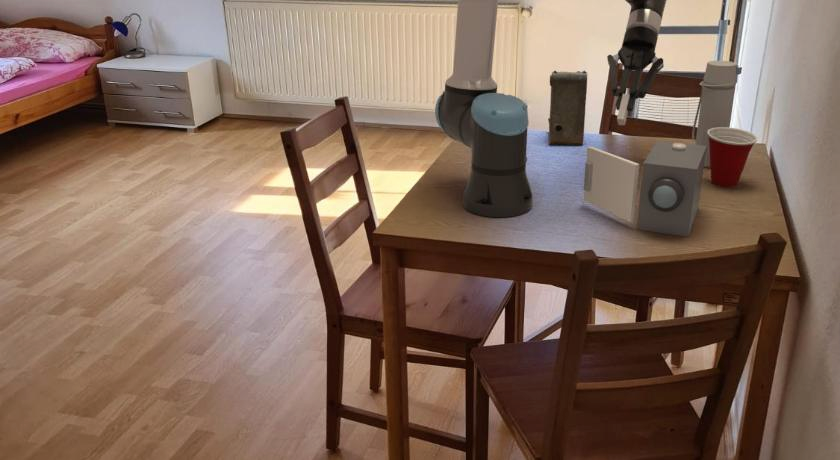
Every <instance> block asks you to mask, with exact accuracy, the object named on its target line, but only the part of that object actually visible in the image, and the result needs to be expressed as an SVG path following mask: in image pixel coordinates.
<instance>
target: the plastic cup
mask: <svg viewBox="0 0 840 460" xmlns="http://www.w3.org/2000/svg"><path fill="white" fill-rule="evenodd" d="M707 135H708V137H709V146H710V168H709V169H710V181H711V183H712V184H713V185H715V186H719V187H722V188H723V187H724V188H733V187H732V186H734V187H737V186H738V183H739V181H740V179H741V176H742V173H743V171H744V169H745V166H746V163H747V160H748V156H749V154H750V152H751V151H752V148H753V146H755V145H754V144H756V143H757V142H758V136H757V135H755V134H754V133H752V132H749V131H747V130H744V129H740V128H736V127H730V126H729V127H717V128H711V129H709V130H708V132H707Z"/></svg>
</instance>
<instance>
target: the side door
mask: <svg viewBox="0 0 840 460" xmlns="http://www.w3.org/2000/svg"><path fill="white" fill-rule="evenodd" d="M585 160H586V162H585V163H584V164H585V166H584V177H583V179H584V180H583V201H584V202H586V203H588V204H590V205H593V206H594V207H597V208H599V209H601V210H604V211H605V212H608V213H609V214H612V215H615V216H617V217H618V218H622V219H624V220H625V221H627V222H633V221H635V211H636V204H637V203H636V201H637V193H638V192H637V191H638V190H637V189H638V182H639V173H640V164H639V163H637V162H635V161H632V160H629V159H626V158H625V157H624V158H623V157H621V156H618V155H616V154H612V153H610V152H607V151H605V150H603V149H600V148H597V147H593V146H592V145H591V146H587V148H586V159H585Z"/></svg>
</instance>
